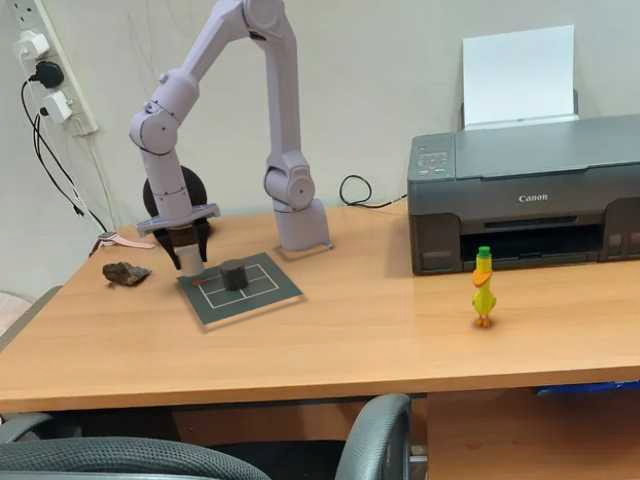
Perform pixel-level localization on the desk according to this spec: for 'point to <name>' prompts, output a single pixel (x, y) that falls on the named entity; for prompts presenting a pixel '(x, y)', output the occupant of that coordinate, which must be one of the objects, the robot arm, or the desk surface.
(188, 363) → the desk surface
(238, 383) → the desk surface
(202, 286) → the game board
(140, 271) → the rock sample
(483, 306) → the toy figure
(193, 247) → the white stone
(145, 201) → the black ball on stand
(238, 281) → the dark grey cylinder
